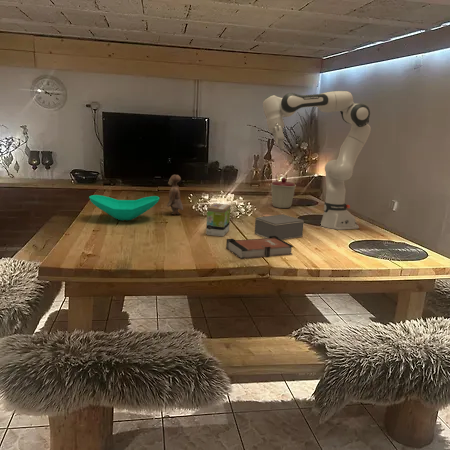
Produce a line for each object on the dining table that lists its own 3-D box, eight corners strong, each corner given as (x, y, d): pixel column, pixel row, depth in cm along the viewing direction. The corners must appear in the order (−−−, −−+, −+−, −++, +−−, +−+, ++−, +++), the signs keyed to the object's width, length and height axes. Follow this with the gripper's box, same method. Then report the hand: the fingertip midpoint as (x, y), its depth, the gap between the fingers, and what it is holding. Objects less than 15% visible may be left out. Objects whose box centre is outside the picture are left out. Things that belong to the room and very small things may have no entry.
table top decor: (86, 224, 239) (85, 200, 236) (93, 213, 265) (92, 192, 262) (159, 225, 245) (159, 202, 242) (159, 214, 272) (159, 193, 269)
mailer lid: (278, 214, 249) (278, 213, 249) (303, 221, 233) (303, 220, 233) (250, 217, 238) (250, 216, 237) (275, 225, 222) (275, 223, 222)
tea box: (224, 236, 228) (225, 209, 224) (205, 235, 229) (206, 207, 226) (229, 230, 242) (231, 203, 238) (212, 228, 244) (213, 202, 240)
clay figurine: (168, 211, 281) (168, 172, 275) (183, 212, 282) (184, 173, 276) (166, 216, 269) (166, 175, 263) (182, 216, 269) (183, 176, 263)
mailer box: (282, 229, 248) (283, 216, 246) (302, 236, 235) (303, 222, 233) (254, 233, 236) (255, 219, 234) (274, 241, 224) (275, 225, 222)
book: (241, 260, 192) (242, 249, 191) (226, 249, 208) (226, 239, 206) (293, 255, 202) (294, 245, 201) (274, 245, 218) (275, 235, 217)
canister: (298, 207, 318) (300, 178, 313) (287, 210, 303) (290, 180, 298) (275, 203, 327) (277, 175, 322) (264, 207, 312) (266, 177, 307)
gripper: (282, 120, 233) (289, 145, 233) (280, 126, 253) (287, 150, 254) (271, 123, 233) (277, 148, 234) (270, 130, 254) (276, 153, 254)
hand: (282, 149), depth 244 cm, fingers open, 8 cm apart
